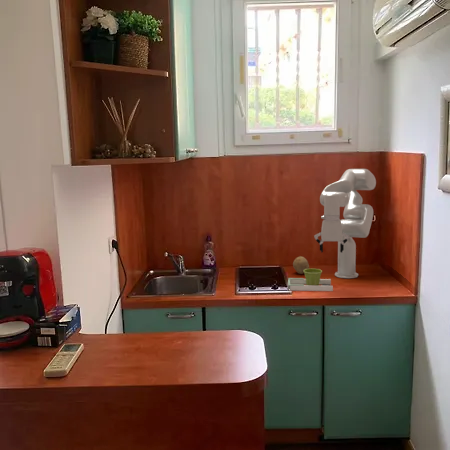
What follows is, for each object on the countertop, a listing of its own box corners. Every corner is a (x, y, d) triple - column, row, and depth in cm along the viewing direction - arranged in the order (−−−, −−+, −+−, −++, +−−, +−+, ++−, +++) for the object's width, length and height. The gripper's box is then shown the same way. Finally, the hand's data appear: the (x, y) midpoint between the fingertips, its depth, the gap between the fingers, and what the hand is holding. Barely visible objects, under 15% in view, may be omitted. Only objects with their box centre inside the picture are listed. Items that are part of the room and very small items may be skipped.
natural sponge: (292, 271, 270) (292, 254, 269) (307, 271, 270) (307, 254, 269) (293, 275, 261) (293, 258, 260) (309, 275, 261) (309, 258, 260)
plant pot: (320, 290, 232) (320, 273, 231) (301, 289, 235) (301, 272, 234) (323, 285, 241) (323, 269, 240) (305, 284, 244) (304, 268, 243)
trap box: (288, 283, 246) (288, 278, 246) (330, 283, 243) (330, 278, 243) (288, 290, 233) (287, 284, 233) (332, 291, 230) (332, 285, 230)
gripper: (314, 219, 229) (314, 253, 232) (350, 219, 226) (350, 253, 229) (313, 217, 236) (313, 250, 239) (348, 217, 234) (348, 250, 236)
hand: (331, 251), depth 234 cm, fingers open, 9 cm apart
